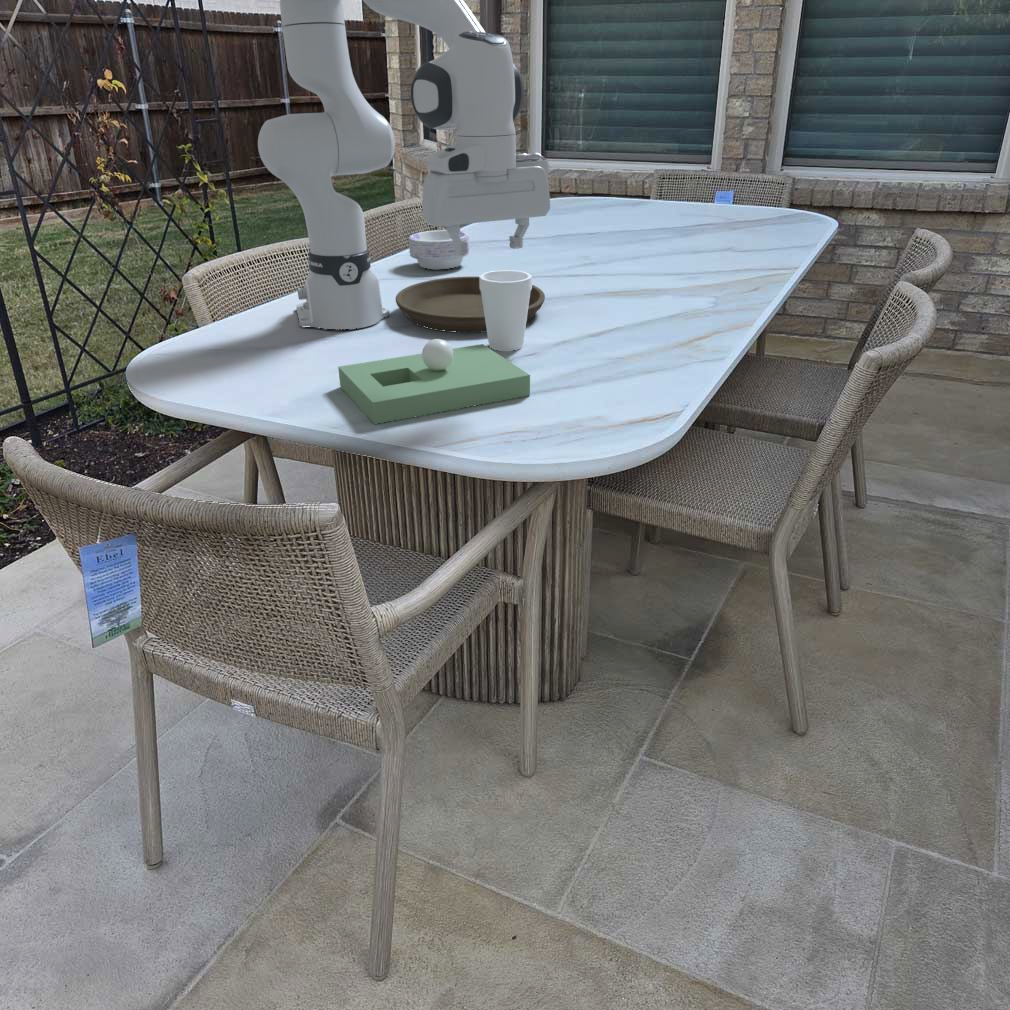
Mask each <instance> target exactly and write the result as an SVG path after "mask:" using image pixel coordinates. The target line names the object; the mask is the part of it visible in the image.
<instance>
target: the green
mask: <svg viewBox="0 0 1010 1010" xmlns="http://www.w3.org/2000/svg"><path fill="white" fill-rule="evenodd" d="M452 350H453V360H452V362H451V364H450V365H449V366H448V367H447V368H446V369H444V370H440V371H435V370H432V369H430V368H428V367H427V366H426V365H425V363H424V361H423V359H422V353H417V354H410V355H405V356H404V355H403V356H397V357H390V358H385V359H379V360H373V361H365V362H361V363H360V362H358V363H355V364H348V365H341V366H337V369H338V377H339V378H338V379H339V386H341V387H340V389H341V390H342V391H345V392H346V393H347V394H348V395H349V396H350V397H349V396H348V395H347V394H346V393H345V392H344V393H345V394H346V395H347V396H348V397H349V398H350V399H351V401H352V402H354V404H355V403H356V404H357V405H358V406H359V407H358V406H357V405H356V404H355V405H356V406H357V407H358V408H359V409H360V408H361V409H360V410H361V411H362V412H363V413H364V415H365V416H366V415H367V416H368V417H369V418H370V419H369V418H368V417H367V418H368V419H369V420H370V421H371V422H372V424H374V425H375V424H376V425H379V424H378V423H381V424H384V423H383V422H387V423H389V422H388V421H392V422H395V421H394V420H397V421H400V420H399V419H403V420H406V419H405V418H408V419H412V418H411V417H413V418H416V417H415V416H419V417H422V416H421V415H424V416H428V415H427V414H430V415H434V414H433V413H435V414H438V413H437V412H440V413H444V412H443V411H446V412H448V411H447V410H451V411H454V410H453V409H456V410H459V409H458V408H462V409H464V408H463V407H467V408H469V407H468V406H472V407H475V406H474V405H478V406H480V405H479V404H483V405H486V404H485V403H489V404H492V403H491V402H494V403H497V402H496V401H499V402H502V401H501V400H505V401H507V400H506V399H510V400H513V399H512V398H515V399H518V398H517V397H521V398H525V397H524V396H526V397H529V396H528V395H530V396H531V375H530V373H528V372H526V371H524V370H523V369H522V368H521V367H519V366H518V365H516V364H514V363H512V362H511V361H509V360H508V359H506V358H505V357H503V356H502V355H500V354H499V353H497V352H495V350H494V351H493V349H491V348H490V347H488V346H486V345H485V344H483V343H481V344H475V345H469V346H468V345H467V346H462V347H455V348H452Z"/></svg>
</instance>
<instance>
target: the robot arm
mask: <svg viewBox="0 0 1010 1010" xmlns="http://www.w3.org/2000/svg"><path fill="white" fill-rule="evenodd" d="M362 1H363V2H364V4H365V5H367V7H369V9H371V10H373V12H375V13H378V14H379V15H381V16H384V17H388V18H391V19H396V20H398V21H399V20H400V21H403V22H407V23H411V24H414V25H416V26H420V27H422V28H423V29H426V30H429V31H430V32H432V33H434V34H436V35H437V36H438V37H439V38H441V40H442V41H444V44H445V45H446V46H447V48H448V49H447V50H446V51H445V52H444V53H443V54H441V55H439V56H438V57H435V58H434V59H432V60H430V61H427V62H424V63H422V64H421V65H420V66H419V67H418V68H417V71H416V72H415V74H414V76H413V79H412V82H411V89H410V90H411V91H410V94H411V96H410V98H411V103H412V104H411V105H412V107H413V110H414V112H415V115H416V117H417V118H418V120H419V122H421V123H422V124H423V125H424V126H425V127H426V128H428V129H434V130H438V131H445V130H446V131H447V130H448V131H449V130H456V133H455V142H454V143H453V144H451V145H449V146H447V147H444V148H442V149H439V150H437V151H435V152H432V153H430V154H428V155H427V156H426V157H425V166H426V168H427V170H429V171H430V172H429V173H428V174H427V175H426V176H425V178H424V181H423V183H422V184H423V186H422V204H421V205H422V217H423V219H424V221H425V222H426V223H427V224H428V225H430V226H432V227H446V230H447V232H448V234H449V235H450V237H451V239H452V240H453V242H454V247H455V254H457V255H464V254H467V253H468V250H467V247H468V245H467V243H466V242H464V241H461V239H460V237H459V236H458V234H457V232H460V231H461V225H468V224H477V223H479V224H480V223H488V222H498V221H507V220H509V221H510V220H514V221H515V224H516V225H517V227H516V229H515V232H514V234H513V235H509V238H508V240H509V247H510V249H513V250H515V249H517V250H518V249H523V246H524V245H523V244H524V243H523V240H524V236H525V234H526V232H527V231H528V228H529V226H530V218H539V217H546V216H547V215H548V213H549V211H550V210H551V197H550V196H551V195H550V186H549V180H548V178H549V162H548V160H547V158H545V156H543V155H542V154H541V153H539V152H531V153H517V144H516V143H517V139H516V138H517V136H516V134H517V132H516V128H515V121H516V119H517V117H518V116H519V114H520V113H521V112H522V108H523V105H524V102H525V95H526V93H525V91H526V90H525V83H524V80H523V78H522V75H521V72H520V71H519V70H518V68H517V66H516V65H515V63H514V59H513V53H512V50H511V46H510V43H509V40H508V39H506V38H505V37H504V36H503V35H501V34H498V33H493V32H486V31H485V30H484V27H482V25H481V24H480V22H479V21H478V19H477V18H476V16H475V15H474V13H473V12H472V11H471V9H470V7H468V5H467V4H466V2H465V1H464V0H362ZM279 8H280V19H281V28H282V36H283V42H284V43H283V44H284V51H285V57H286V58H285V59H286V64H287V71H288V73H289V75H290V78H292V80H293V81H294V82H295V83H296V84H297V85H298V86H299V87H301V88H303V89H305V90H307V91H309V92H311V93H313V94H315V95H317V97H318V99H319V100H320V101H321V103H322V106H323V109H324V112H311V113H310V112H306V113H304V112H303V113H289V114H285V115H281V116H278V117H274V118H269V119H267V120H266V121H265V122H264V123H263V125H262V126H261V128H260V130H259V133H258V137H257V149H258V155H259V157H260V159H261V161H262V162H261V163H263V165H264V167H265V168H266V169H267V171H269V172H270V174H272V175H273V176H275V177H276V178H278V179H279V180H280V181H282V182H283V183H285V185H286V186H287V187H288V188H289V189H290V190H291V191H292V193H293V195H295V197H296V199H297V200H298V202H299V204H300V206H301V209H302V211H303V216H304V219H305V225H306V229H307V230H306V231H307V237H308V244H309V252H308V256H307V257H308V258H307V262H308V270H309V273H308V276H307V277H306V280H305V281H304V287H298V288H297V296H298V297H297V298H298V300H305V301H304V302H301V303H298V304H296V312H297V313H298V315H297V318H299V320H298V325H299V324H300V325H299V327H300V326H310V327H320V328H325V329H324V330H327V329H336V330H335V331H345V329H349V330H357V329H362V328H367V327H370V326H374V325H375V324H377V323H379V322H381V320H383V319H385V318H387V317H389V316H390V310H389V309H387V308H385V307H383V302H382V296H381V288H380V282H379V281H380V280H379V277H378V275H376V274H375V273H373V272H372V270H371V269H370V268H371V255H370V249H369V248H368V247H367V237H366V224H365V223H366V222H365V213H364V212H363V209H362V207H361V205H360V204H359V203H358V202H357V201H355V200H354V199H352V198H351V197H348V196H346V195H344V194H342V193H339V192H337V191H336V190H335V189H334V186H333V182H332V177H337V176H346V175H347V176H348V175H362V174H367V173H371V172H376V171H378V170H381V169H384V168H386V167H388V166H389V164H390V163H391V161H392V159H393V157H394V154H395V149H396V139H395V134H394V131H393V128H392V126H391V124H390V122H389V121H388V120H387V119H386V118H385V116H384V115H382V114H380V113H379V112H378V111H377V110H376V109H375V108H374V107H372V106H371V104H370V103H369V102H368V101H367V100H366V98H365V96H364V95H363V94H362V92H361V90H360V88H359V86H358V84H357V82H356V79H355V77H354V74H353V69H352V65H351V64H352V63H351V59H350V54H349V53H350V52H349V47H348V46H349V45H348V39H347V33H346V32H347V30H346V21H345V14H344V13H345V12H344V7H343V0H279ZM384 317H385V318H384ZM320 328H319V329H320ZM356 328H357V329H356ZM337 329H338V330H337ZM339 329H341V330H339ZM342 329H344V330H342Z"/></svg>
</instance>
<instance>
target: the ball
mask: <svg viewBox="0 0 1010 1010" xmlns="http://www.w3.org/2000/svg"><path fill="white" fill-rule="evenodd" d="M452 349H453V347H452V346H451V345H450V343H449V342H447V341H446V340H444V339H441V338H434V339H431V340H429V341H428V342H427V343H425V345H424V346H423V348H422V351H421V354H422V359H423V361H424V363H425V365H426V366H427V367H428V368H430V369H432V370H435V371H440V370H444V369H446V368H447V367H448V366H449V365H450V364H451V362H452V360H453V350H452Z"/></svg>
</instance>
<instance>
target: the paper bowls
mask: <svg viewBox="0 0 1010 1010" xmlns="http://www.w3.org/2000/svg"><path fill="white" fill-rule="evenodd" d="M457 234H458V236H459V237H460V239H461V241H464V242H466V243H467V245H468V247H467V250H468V253H467V254H464V255H457V254H455V247H454V242H453V240H452V239H451V237H450V235H449V234H448V232H447V229H440V230H439V229H438V230H427V231H421V232H420V231H419V232H416V233H413V234H410V235H409V237H408V246H409V256H410V258H412V259H416V260H417V263H418V265H419V266H420V267H421V268H422V267H423V268H422V269H425V268H428V269H427V270H429V269H448V270H450V269H449V268H453V269H455V268H454V267H456V268H458V267H460V265H461V264H462V261H463V259H464V257H466V256H468V255H470V235H469V233H467V232H465V231H461V230H460V232H457Z"/></svg>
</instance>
